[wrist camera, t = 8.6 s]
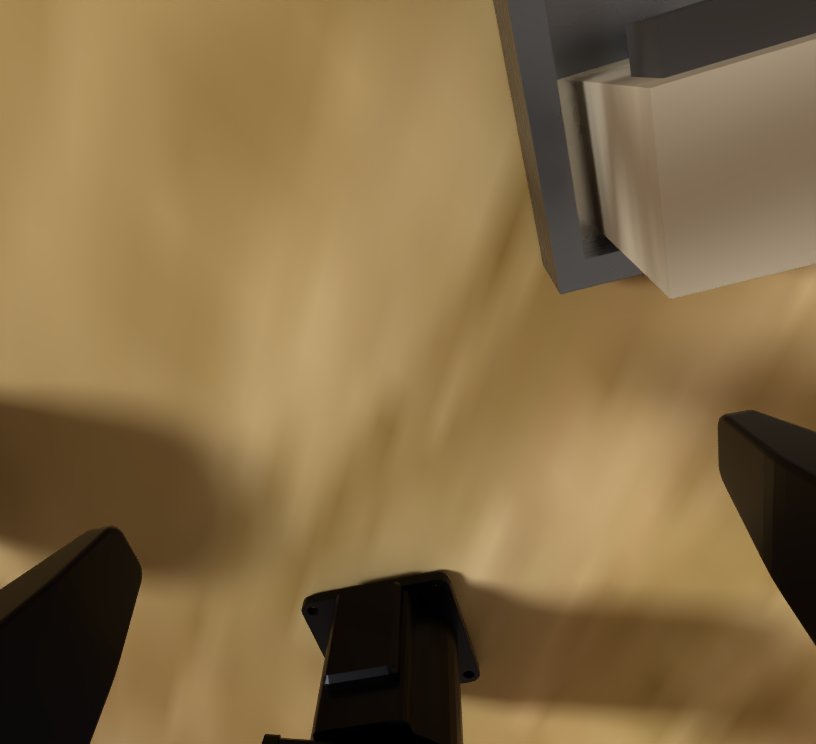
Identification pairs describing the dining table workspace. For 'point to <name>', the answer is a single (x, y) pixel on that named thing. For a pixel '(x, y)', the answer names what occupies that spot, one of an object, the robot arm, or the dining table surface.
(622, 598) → the dining table surface
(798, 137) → the block
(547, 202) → the rail
